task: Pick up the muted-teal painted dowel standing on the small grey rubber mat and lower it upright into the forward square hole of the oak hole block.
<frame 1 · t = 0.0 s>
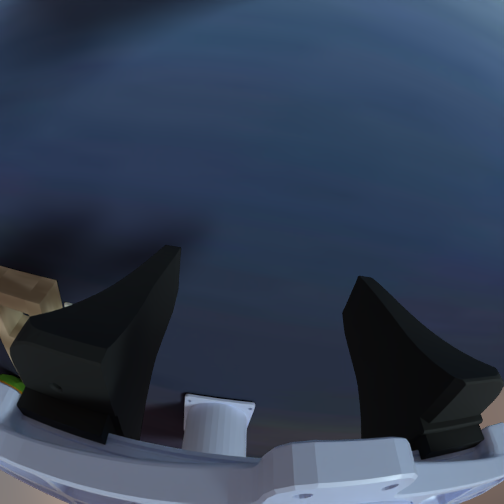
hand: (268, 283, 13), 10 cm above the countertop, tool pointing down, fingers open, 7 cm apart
hole block: (42, 330, 29), on the countertop
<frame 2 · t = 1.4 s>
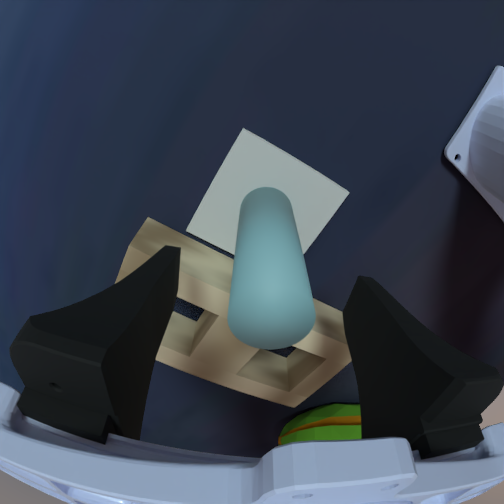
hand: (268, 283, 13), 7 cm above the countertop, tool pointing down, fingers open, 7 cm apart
corn: (365, 409, 31), on the countertop
hole block: (231, 312, 23), on the countertop
peg: (266, 211, 18), resting on mat
mat: (265, 209, 19), on the countertop
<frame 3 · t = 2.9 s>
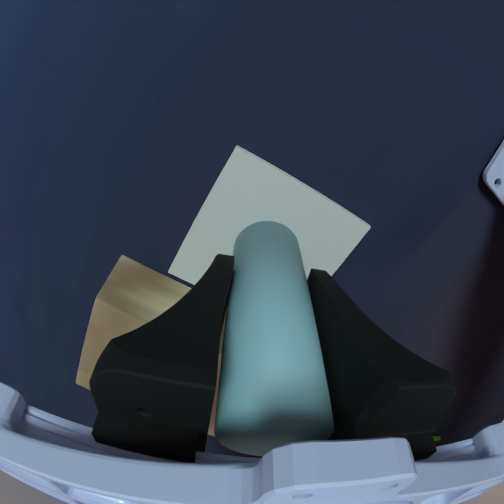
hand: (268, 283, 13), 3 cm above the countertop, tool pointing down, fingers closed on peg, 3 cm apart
hole block: (225, 358, 19), on the countertop
peg: (266, 250, 15), resting on mat, touching gripper
mat: (266, 247, 15), on the countertop
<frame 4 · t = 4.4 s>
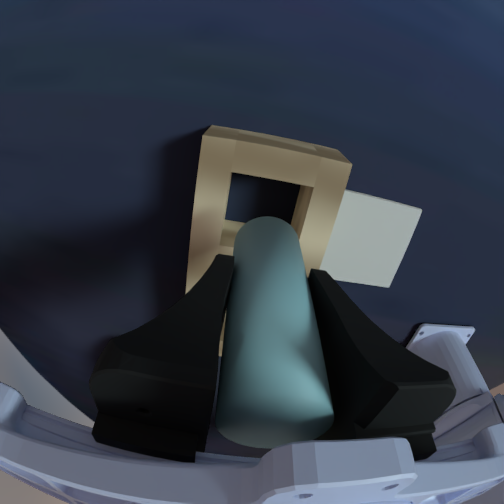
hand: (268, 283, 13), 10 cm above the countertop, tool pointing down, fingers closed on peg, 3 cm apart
hole block: (252, 246, 23), on the countertop
peg: (266, 245, 15), point 7 cm above the countertop, touching gripper
mat: (365, 241, 23), on the countertop
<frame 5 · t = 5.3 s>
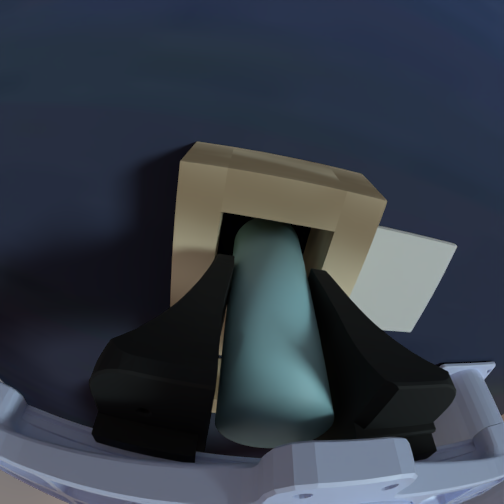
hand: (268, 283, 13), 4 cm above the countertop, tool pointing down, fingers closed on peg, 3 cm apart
hole block: (251, 292, 18), on the countertop
peg: (266, 245, 15), point 2 cm above the countertop, touching gripper
mat: (388, 283, 18), on the countertop
when the fingers open (4 cm above the countertop, at t = 6.0 s): peg drops 2 cm, resting in hole block.
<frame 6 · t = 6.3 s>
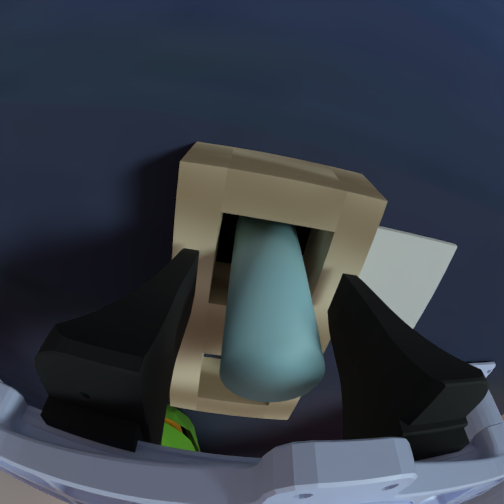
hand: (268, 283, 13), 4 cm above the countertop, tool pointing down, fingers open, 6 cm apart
corn: (171, 430, 28), on the countertop
hole block: (251, 292, 18), on the countertop
peg: (265, 229, 16), resting in hole block
mat: (388, 283, 18), on the countertop
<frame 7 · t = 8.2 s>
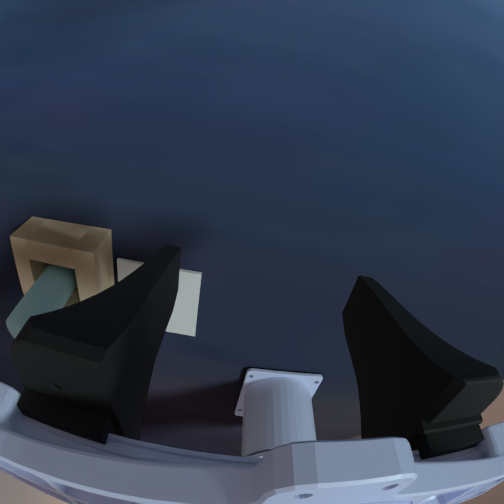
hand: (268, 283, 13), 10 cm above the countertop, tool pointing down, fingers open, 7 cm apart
hole block: (79, 298, 27), on the countertop
peg: (73, 262, 25), resting in hole block
mat: (158, 298, 27), on the countertop
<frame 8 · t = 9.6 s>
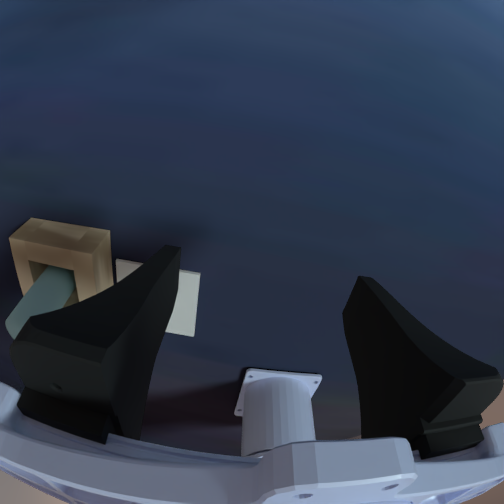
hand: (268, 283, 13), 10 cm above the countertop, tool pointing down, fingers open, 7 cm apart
hole block: (78, 299, 27), on the countertop
peg: (72, 263, 25), resting in hole block
mat: (157, 299, 27), on the countertop
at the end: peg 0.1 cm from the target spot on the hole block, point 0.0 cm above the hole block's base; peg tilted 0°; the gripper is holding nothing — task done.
